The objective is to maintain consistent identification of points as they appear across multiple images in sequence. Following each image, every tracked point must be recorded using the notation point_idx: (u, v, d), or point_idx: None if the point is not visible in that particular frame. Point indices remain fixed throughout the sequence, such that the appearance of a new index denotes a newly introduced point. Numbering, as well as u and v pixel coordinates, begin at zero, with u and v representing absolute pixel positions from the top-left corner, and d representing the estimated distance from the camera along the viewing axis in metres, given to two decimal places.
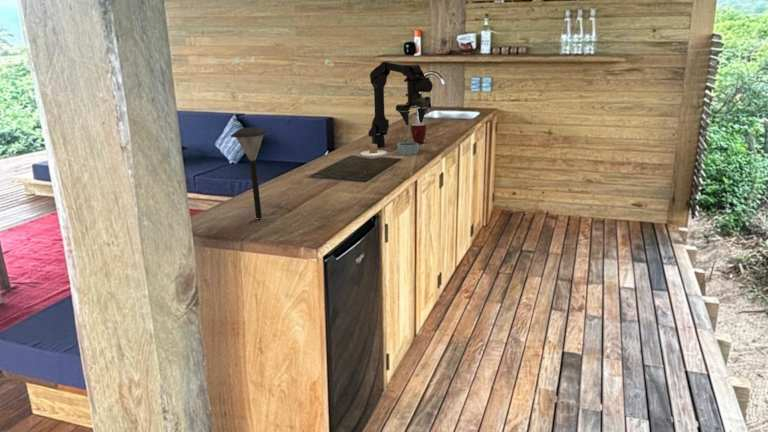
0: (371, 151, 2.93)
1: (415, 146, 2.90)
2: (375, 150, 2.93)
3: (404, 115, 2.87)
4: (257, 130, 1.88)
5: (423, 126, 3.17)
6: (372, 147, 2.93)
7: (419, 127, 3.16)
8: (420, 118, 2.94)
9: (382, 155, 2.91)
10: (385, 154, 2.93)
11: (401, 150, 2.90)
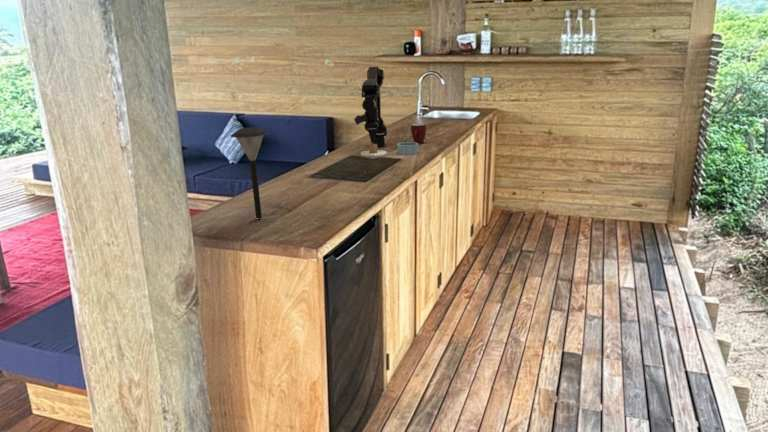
0: (371, 151, 2.93)
1: (415, 146, 2.90)
2: (375, 150, 2.93)
3: None
4: (257, 130, 1.88)
5: (423, 126, 3.17)
6: (372, 147, 2.93)
7: (419, 127, 3.16)
8: None
9: (382, 155, 2.91)
10: (385, 154, 2.93)
11: (401, 150, 2.90)
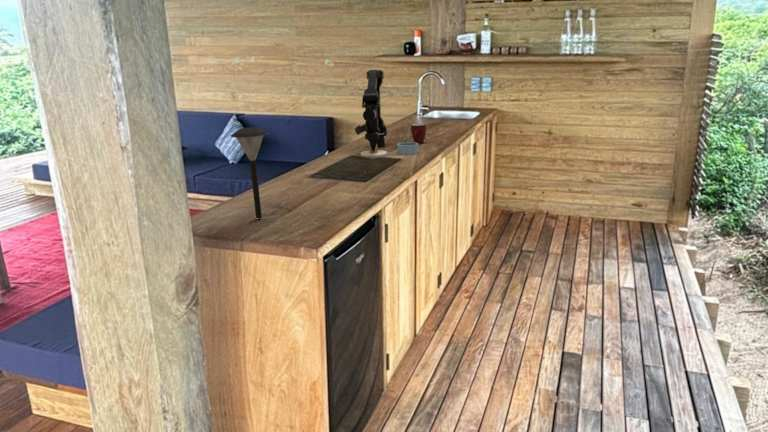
0: (371, 151, 2.93)
1: (415, 146, 2.90)
2: (375, 150, 2.93)
3: None
4: (257, 130, 1.88)
5: (423, 126, 3.17)
6: None
7: (419, 127, 3.16)
8: None
9: (382, 155, 2.91)
10: (385, 154, 2.93)
11: (401, 150, 2.90)
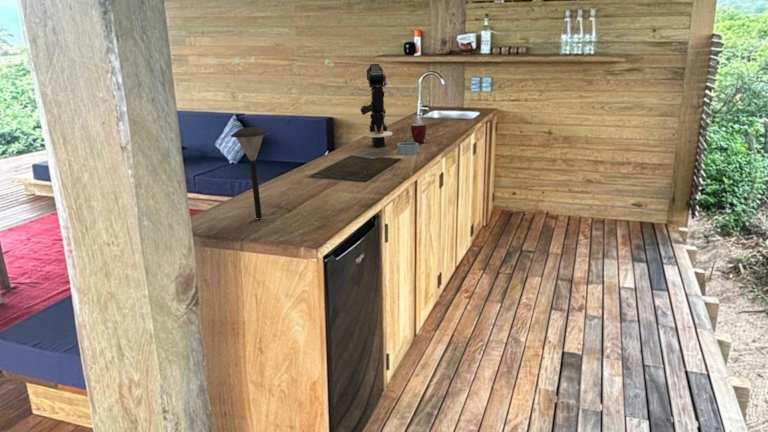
0: (377, 132, 2.90)
1: (415, 146, 2.90)
2: (381, 131, 2.90)
3: None
4: (257, 130, 1.88)
5: (423, 126, 3.17)
6: None
7: (419, 127, 3.16)
8: None
9: None
10: None
11: (401, 150, 2.90)
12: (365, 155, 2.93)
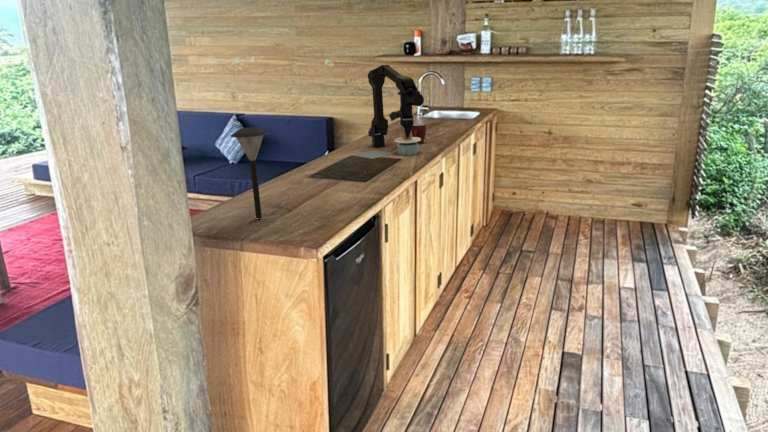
0: (405, 137, 2.91)
1: (415, 146, 2.90)
2: (409, 136, 2.91)
3: None
4: (257, 130, 1.88)
5: (423, 126, 3.17)
6: None
7: (419, 127, 3.16)
8: None
9: (417, 141, 2.88)
10: (419, 140, 2.90)
11: (401, 150, 2.90)
12: (365, 155, 2.93)
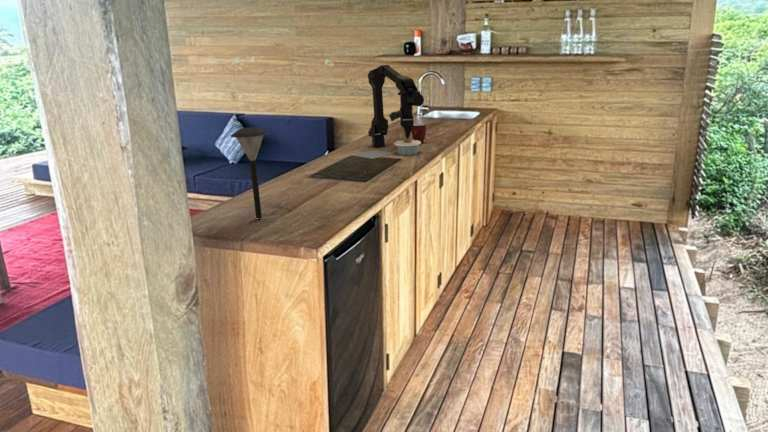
0: (405, 141, 2.91)
1: (415, 146, 2.90)
2: (409, 140, 2.91)
3: None
4: (257, 130, 1.88)
5: (423, 126, 3.17)
6: None
7: (419, 127, 3.16)
8: None
9: None
10: (419, 144, 2.91)
11: (401, 150, 2.90)
12: (365, 155, 2.93)
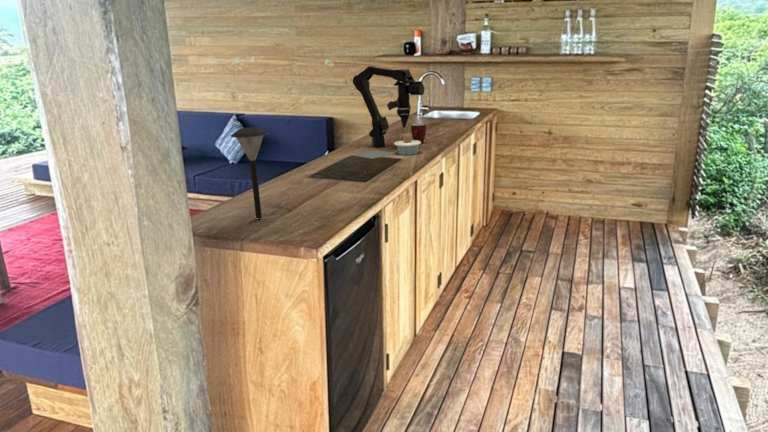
0: (405, 141, 2.91)
1: (415, 146, 2.90)
2: (409, 140, 2.91)
3: None
4: (257, 130, 1.88)
5: (423, 126, 3.17)
6: (406, 137, 2.90)
7: (419, 127, 3.16)
8: None
9: None
10: (419, 144, 2.91)
11: (401, 150, 2.90)
12: (365, 155, 2.93)
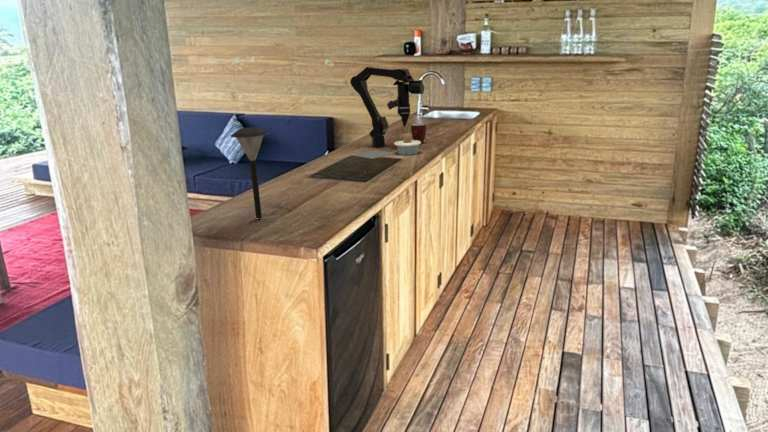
0: (405, 141, 2.91)
1: (415, 146, 2.90)
2: (409, 140, 2.91)
3: None
4: (257, 130, 1.88)
5: (423, 126, 3.17)
6: (406, 137, 2.90)
7: (419, 127, 3.16)
8: None
9: None
10: (419, 144, 2.91)
11: (401, 150, 2.90)
12: (365, 155, 2.93)
